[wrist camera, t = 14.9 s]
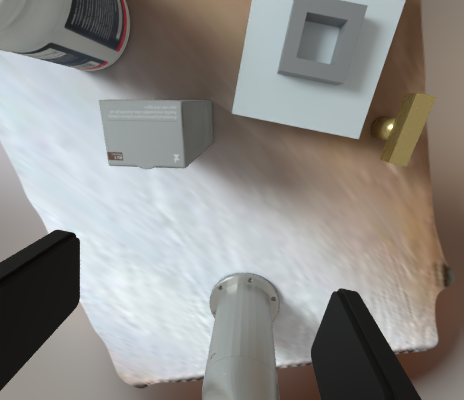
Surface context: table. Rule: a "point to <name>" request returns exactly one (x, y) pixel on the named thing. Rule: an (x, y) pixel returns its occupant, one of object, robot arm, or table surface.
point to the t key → (403, 128)
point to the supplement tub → (66, 31)
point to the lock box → (314, 61)
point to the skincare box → (156, 131)
